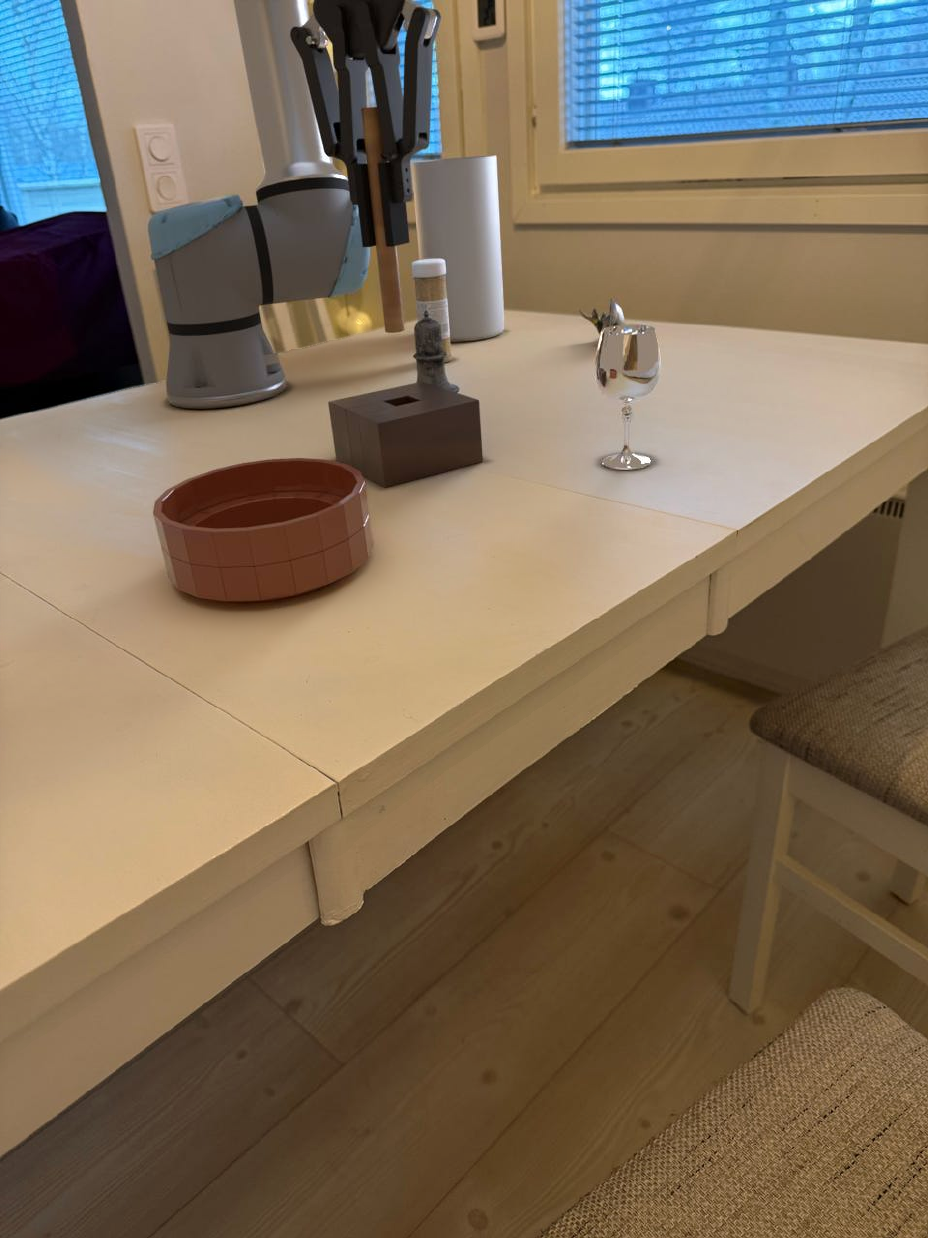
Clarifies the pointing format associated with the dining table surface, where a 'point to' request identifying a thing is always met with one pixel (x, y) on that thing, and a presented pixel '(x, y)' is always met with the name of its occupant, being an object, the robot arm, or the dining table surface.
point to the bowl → (264, 529)
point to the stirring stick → (382, 227)
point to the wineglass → (627, 378)
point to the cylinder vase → (463, 239)
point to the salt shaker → (431, 354)
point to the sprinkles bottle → (433, 296)
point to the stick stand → (406, 432)
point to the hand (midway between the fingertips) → (386, 244)
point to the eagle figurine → (610, 320)
